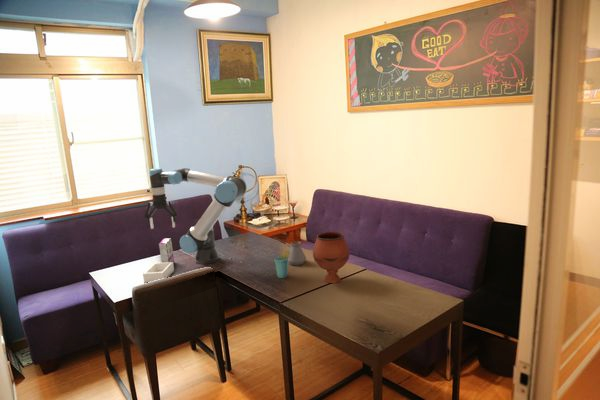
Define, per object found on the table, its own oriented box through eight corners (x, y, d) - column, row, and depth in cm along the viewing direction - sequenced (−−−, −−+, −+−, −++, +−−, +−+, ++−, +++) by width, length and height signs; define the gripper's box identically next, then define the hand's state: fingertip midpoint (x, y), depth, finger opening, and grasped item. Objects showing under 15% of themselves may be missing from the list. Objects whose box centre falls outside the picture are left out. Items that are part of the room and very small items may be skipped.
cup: (277, 282, 218) (275, 256, 215) (267, 279, 223) (265, 253, 220) (294, 274, 229) (292, 248, 226) (284, 271, 234) (282, 246, 231)
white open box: (174, 270, 246) (173, 261, 245) (164, 281, 229) (162, 272, 228) (155, 271, 247) (154, 262, 246) (144, 282, 230) (142, 273, 229)
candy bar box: (166, 262, 261) (163, 238, 258) (174, 262, 261) (171, 237, 258) (161, 269, 250) (158, 243, 247) (170, 268, 250) (166, 243, 247)
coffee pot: (309, 261, 248) (308, 237, 245) (300, 267, 238) (298, 243, 235) (280, 257, 259) (278, 234, 256) (270, 263, 249) (268, 239, 246)
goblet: (348, 272, 226) (346, 229, 221) (352, 286, 208) (350, 239, 203) (314, 274, 227) (311, 230, 222) (314, 288, 208) (311, 241, 203)
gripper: (181, 191, 250) (184, 225, 254) (141, 193, 251) (145, 227, 255) (177, 193, 243) (181, 228, 247) (135, 196, 244) (140, 230, 248)
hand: (163, 227), depth 251 cm, fingers open, 13 cm apart
